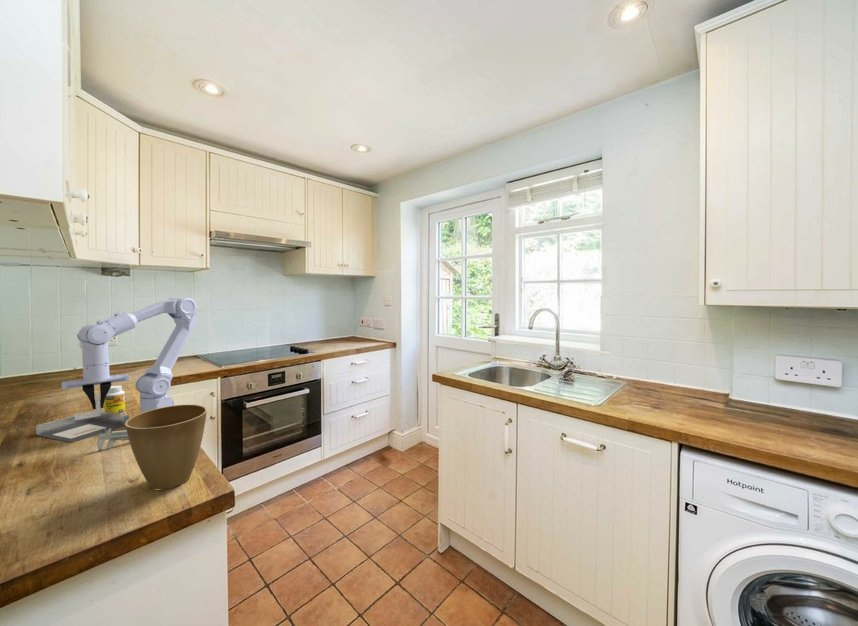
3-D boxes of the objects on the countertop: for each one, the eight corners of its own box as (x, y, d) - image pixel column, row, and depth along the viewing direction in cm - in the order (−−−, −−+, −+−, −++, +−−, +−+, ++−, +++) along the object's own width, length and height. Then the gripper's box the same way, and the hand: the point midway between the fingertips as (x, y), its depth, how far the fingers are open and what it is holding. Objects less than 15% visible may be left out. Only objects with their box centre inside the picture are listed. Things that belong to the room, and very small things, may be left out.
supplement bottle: (102, 418, 119) (101, 389, 119) (106, 413, 124) (105, 386, 123) (124, 415, 122) (122, 387, 122) (127, 410, 127) (125, 384, 126)
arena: (129, 424, 114) (128, 415, 114) (70, 442, 99) (70, 432, 99) (96, 418, 119) (96, 409, 118) (36, 435, 104) (35, 425, 104)
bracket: (100, 411, 106) (99, 394, 105) (100, 415, 102) (100, 397, 102) (75, 416, 102) (74, 398, 101) (74, 420, 98) (73, 401, 98)
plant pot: (121, 484, 78) (118, 416, 77) (197, 460, 89) (195, 400, 88) (136, 510, 68) (133, 433, 68) (218, 479, 80) (216, 413, 79)
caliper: (98, 453, 94) (97, 431, 93) (98, 452, 94) (97, 430, 94) (185, 430, 110) (185, 411, 109) (184, 429, 110) (183, 410, 110)
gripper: (126, 359, 111) (128, 399, 111) (61, 365, 100) (63, 410, 101) (128, 362, 106) (130, 404, 106) (60, 369, 95) (62, 416, 96)
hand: (98, 407), depth 103 cm, fingers closed on bracket
